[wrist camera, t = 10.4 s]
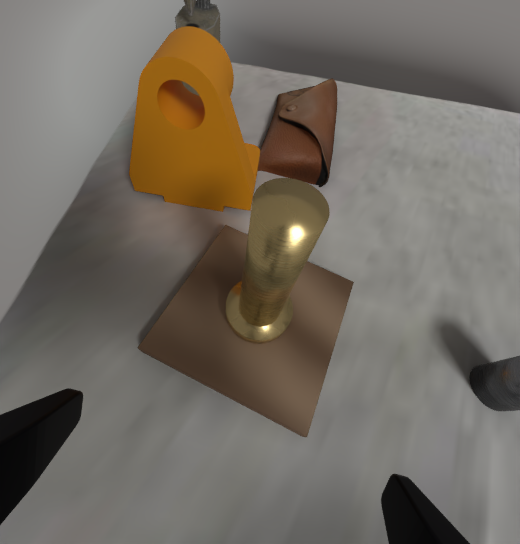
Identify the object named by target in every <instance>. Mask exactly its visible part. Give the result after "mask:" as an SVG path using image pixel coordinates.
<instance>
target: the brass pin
mask: <svg viewBox="0 0 520 544" xmlns="http://www.w3.org/2000/svg"><path fill="white" fill-rule="evenodd" d="M328 218H329V206H328V203H327V201H326V199H325V198H324V196H323V195H322V194H321V193H320V192H319V191H318V190H317V189H316V188H314V187H313V186H311V185H309V184H308V183H305V182H303V181H300V180H296V179H291V178H278V179H273V180H270V181H267V182H265V183H264V184H262V185H261V186H260V187H259V188H258V189H257V190H256V192H255V194H254V196H253V203H252V210H251V217H250V225H249V232H248V239H247V247H246V254H245V262H244V269H243V276H242V281H240V282H239V283H237V284H236V285H235V286H234V287H233V288H232V289H231V291H230V292H229V294H228V297H227V300H226V319H227V322H228V325H229V327H230V328H231V330H232V331H233V332H234V333H235V334H236V335H237V336H238V337H239V338H241V339H243V340H245V341H247V342H250V343H255V344H263V343H268V342H271V341H274V340H275V339H277V338H278V337H280V336H281V335H282V334H283V333H284V331H285V330H286V328H287V327H288V325H289V324H290V322H291V319H292V315H293V304H292V300H291V298H290V296H289V295H290V293H291V291H292V289H293V287H294V285H295V283H296V281H297V279H298V277H299V276H300V274H301V272H302V270H303V268H304V266H305V264H306V262H307V260H308V258H309V256H310V254H311V252H312V250H313V248H314V246H315V244H316V242H317V240H318V238H319V236H320V234H321V233H322V231H323V229H324V227H325V225H326V223H327V221H328Z"/></svg>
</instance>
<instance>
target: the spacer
mask: <svg viewBox="0 0 520 544" xmlns="http://www.w3.org/2000/svg"><path fill="white" fill-rule="evenodd" d="M470 384H471V387H472V389H473V391H474V393H475V395H476V396H477V398H478V399H479V400H480V401H481V402H482V403H483V404H484V405H486V406H487V407H489V408H490V409H493V410H496V411H515V410H520V356H517V357H513V358H508V359H504V360H500V361H496V362H491V363H487V364H483V365H479V366H476V367H474V368H473V369H472V371H471V373H470Z"/></svg>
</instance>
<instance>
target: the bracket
mask: <svg viewBox="0 0 520 544" xmlns="http://www.w3.org/2000/svg"><path fill="white" fill-rule="evenodd" d="M233 79H234V78H233V69H232V65H231V62H230V59H229V57H228V55H227V53H226V51H225V49H224V48H223V46H222V45H221V44H220V43H219V42H218V40H217V39H216V38H214V37H213V36H212V35H211V34H209V33H208V32H206V31H204V30H202V29H200V28H197V27H191V26H186V27H181V28H178V29H176V30H174V31H173V32H172V33H170V34H169V36H168V37H167V38H166V40H165V41H164V43H163V44H162V45H161V46H160V48H159V49H158V50H157V52H156V53H155V54H154V56H153V57H152V58H151V60H150V61H149V63H148V64H147V65H146V67H145V68H144V69H143V71H142V73H141V76H140V80H139V87H138V96H137V105H136V115H135V124H134V133H133V142H132V152H131V161H130V170H129V175H130V178H131V181H132V183H133V186H134V189H135V191H140V192H145V193H151V194H157V195H163V196H164V200H165V202H170V203H176V204H182V205H187V206H193V207H199V208H205V209H211V210H216V211H222V212H223V210H224V206H226V207H232V208H238V209H244V210H249V211H250V210H251V204H252V199H253V193H254V187H255V182H256V176H257V171H258V164H259V157H260V149H259V148H258V147H257V146H255V145H252V144H247V143H244V141H243V138H242V134H241V131H240V128H239V125H238V121H237V118H236V115H235V112H234V108H233V105H232V102H231V98H230V95H231V92H232V88H233ZM181 81H183V82H185V83H187V84H189V85H190V86H191V87H193V88H194V89H195V90H196V91H197V93H198V94H199V96H198V95H195V94H193V93H192V92H190V91H189V90H188V89H187V88H186V87H185V86H184V85H183V84H182V82H181Z"/></svg>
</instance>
